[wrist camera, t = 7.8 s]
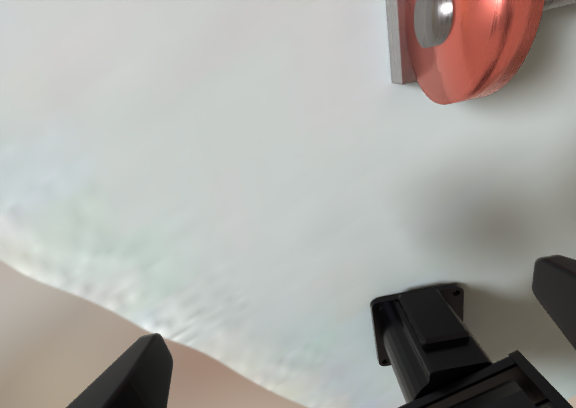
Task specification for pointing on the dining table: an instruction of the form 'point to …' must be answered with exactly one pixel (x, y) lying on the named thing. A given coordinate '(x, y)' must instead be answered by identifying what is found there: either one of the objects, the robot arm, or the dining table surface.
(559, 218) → the dining table surface
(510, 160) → the dining table surface
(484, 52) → the red disc wheel
